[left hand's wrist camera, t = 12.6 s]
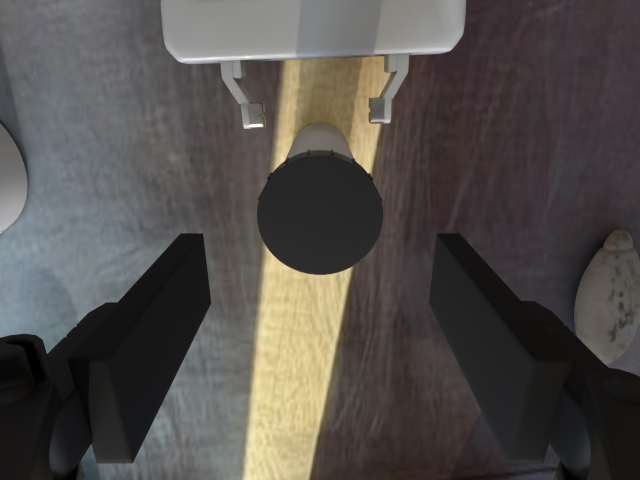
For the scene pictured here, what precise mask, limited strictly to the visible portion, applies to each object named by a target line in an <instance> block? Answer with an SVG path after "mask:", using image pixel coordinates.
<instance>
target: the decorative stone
mask: <svg viewBox="0 0 640 480" xmlns="http://www.w3.org/2000/svg"><path fill="white" fill-rule="evenodd" d="M574 320H575V330H576V335H577V337H578V338H579V339H580V340H581V341H582V342H583V343H584V344H585V345H586V346H587V347H588V348H589V349H590V350H591V351H592V352H593V353H594V354H595V355H596V356H597V357H598V358H599V359H600V360H601V361H602V362H603V363H604V364H605V365H608V364H611V363H612V362H614V361H615V360H617V359H618V358H619V357H620V356H621V355H622V354H623V353H624V351H625V350H626V349H627V347H628V346H629V344H630V343H631V341H632V339H633V337H634V335H635V333H636V331H637V329H638V326H639V324H640V260H639V256H638V254H637V251H636V249H635V248H634V247H633V240H632V237H631V235H630V234H629V233H628V232H627V231H625V230H614V231H613V232H611V233H610V235H609V236H608V237H607V239H606V241H605V243H604V246H603V248H600V249H599V250H598V252H597V253H596V254H595V256H594V257H593V259H592V260H591V262H590V264H589V266H588V267H587V268H586V270H585V272H584V274H583V276H582V279H581V281H580V284H579V287H578V290H577V295H576V300H575V308H574Z"/></svg>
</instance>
